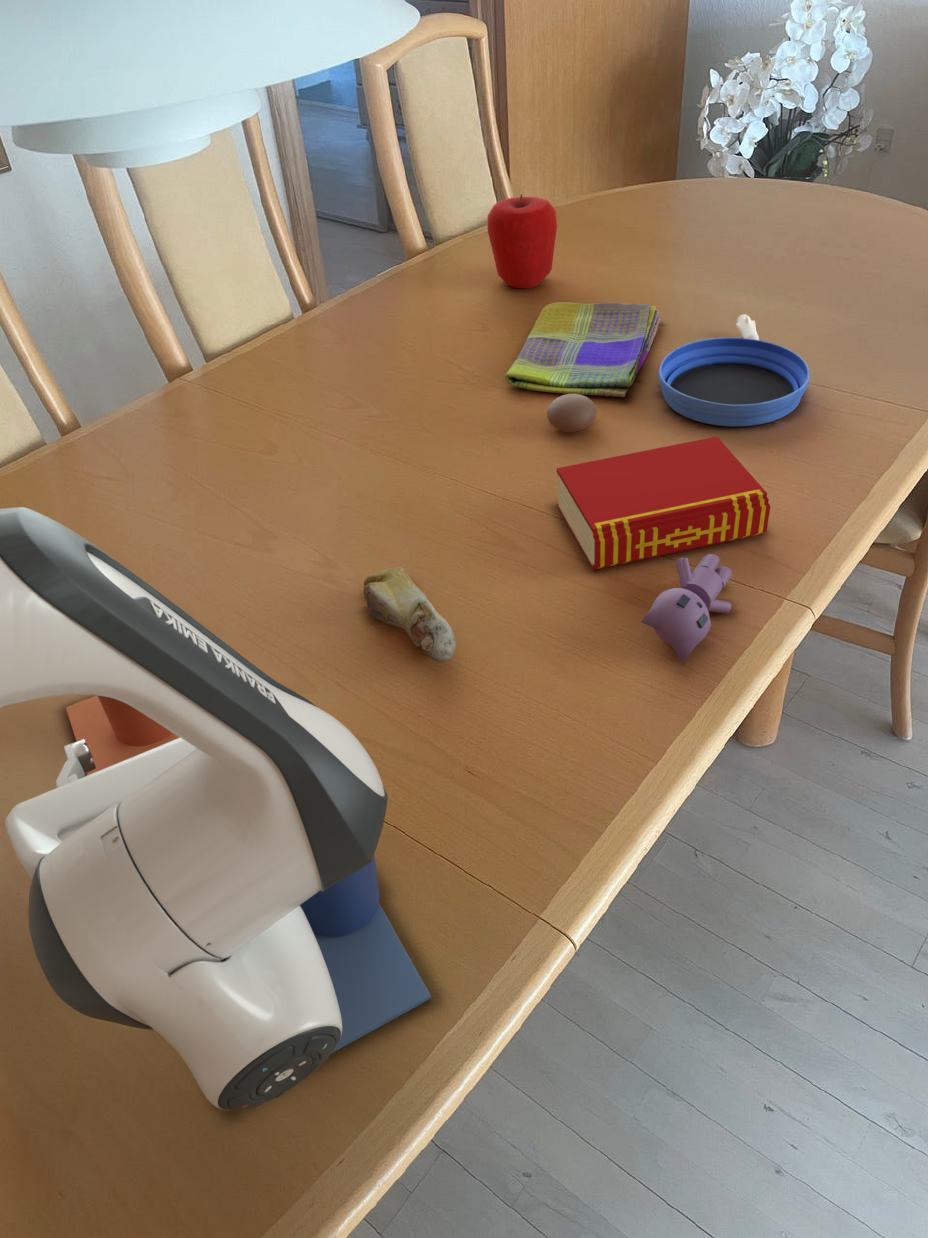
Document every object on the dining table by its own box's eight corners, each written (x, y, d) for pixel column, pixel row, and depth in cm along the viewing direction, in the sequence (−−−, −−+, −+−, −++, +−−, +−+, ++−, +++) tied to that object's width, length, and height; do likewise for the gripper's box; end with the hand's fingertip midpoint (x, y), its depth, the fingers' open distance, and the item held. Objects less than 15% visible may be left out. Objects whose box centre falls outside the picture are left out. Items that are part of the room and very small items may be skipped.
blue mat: (231, 1109, 60) (229, 1106, 60) (170, 935, 70) (168, 932, 70) (431, 999, 65) (430, 995, 65) (348, 850, 75) (347, 846, 74)
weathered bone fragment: (344, 584, 96) (402, 655, 84) (385, 547, 96) (449, 613, 84) (373, 616, 99) (433, 689, 87) (413, 580, 99) (479, 649, 88)
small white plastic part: (729, 349, 132) (731, 327, 130) (736, 330, 136) (738, 308, 134) (756, 351, 131) (759, 329, 129) (762, 332, 135) (765, 310, 133)
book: (595, 575, 97) (596, 534, 94) (557, 507, 107) (556, 468, 104) (765, 538, 100) (771, 497, 96) (713, 475, 109) (716, 436, 106)
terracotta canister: (123, 756, 83) (84, 671, 77) (107, 713, 88) (69, 630, 81) (191, 728, 85) (158, 643, 79) (172, 687, 89) (139, 603, 83)
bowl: (643, 422, 119) (644, 395, 117) (673, 356, 132) (675, 331, 130) (796, 438, 114) (801, 411, 111) (813, 368, 126) (817, 342, 124)
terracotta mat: (95, 798, 81) (93, 795, 80) (66, 710, 89) (65, 707, 89) (233, 739, 84) (232, 736, 84) (193, 660, 93) (192, 657, 92)
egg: (567, 410, 123) (566, 381, 120) (605, 423, 120) (606, 393, 117) (537, 431, 120) (536, 401, 117) (576, 445, 117) (576, 414, 114)
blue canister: (315, 950, 67) (296, 860, 61) (284, 887, 72) (263, 796, 65) (393, 912, 70) (383, 821, 63) (358, 853, 74) (345, 762, 67)
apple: (563, 270, 158) (562, 182, 149) (549, 295, 151) (547, 205, 142) (500, 268, 161) (495, 182, 152) (483, 293, 153) (477, 204, 145)
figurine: (706, 530, 91) (651, 603, 84) (757, 582, 91) (707, 659, 84) (670, 557, 95) (615, 628, 88) (719, 607, 96) (669, 682, 88)
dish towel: (498, 390, 129) (496, 371, 127) (545, 313, 146) (544, 295, 144) (630, 401, 124) (631, 381, 122) (662, 320, 141) (663, 301, 139)
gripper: (340, 757, 63) (267, 637, 72) (14, 901, 56) (-19, 748, 66) (354, 819, 67) (284, 698, 76) (52, 959, 60) (16, 808, 70)
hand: (142, 722), depth 71 cm, fingers open, 8 cm apart
